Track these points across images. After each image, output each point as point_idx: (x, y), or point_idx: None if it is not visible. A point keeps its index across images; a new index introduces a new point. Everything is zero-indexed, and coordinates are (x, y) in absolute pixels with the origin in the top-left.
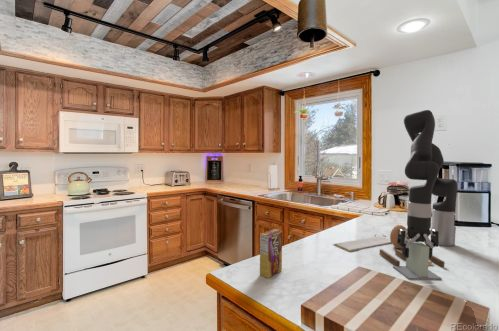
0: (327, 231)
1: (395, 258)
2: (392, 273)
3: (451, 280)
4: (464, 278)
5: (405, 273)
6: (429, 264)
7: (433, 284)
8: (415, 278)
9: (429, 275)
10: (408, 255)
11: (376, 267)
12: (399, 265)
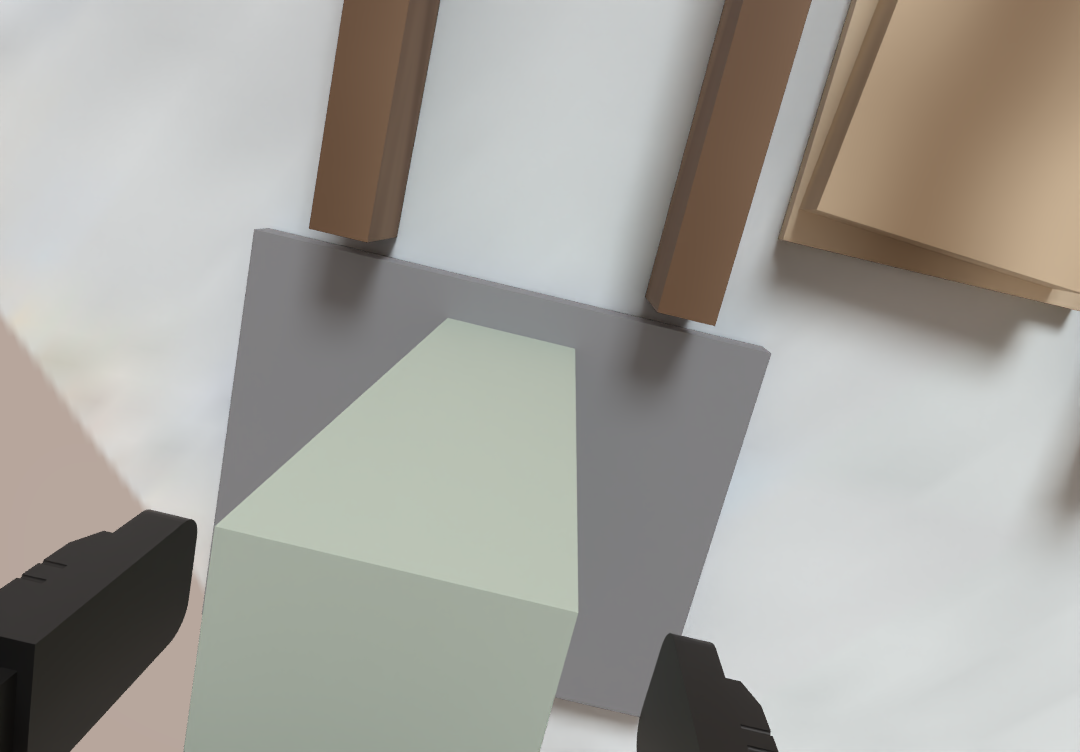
0: None
1: (388, 96)
2: (131, 388)
3: (783, 727)
4: (1027, 729)
5: None
6: (1011, 282)
7: None
8: None
9: None
10: (146, 660)
11: (7, 146)
12: (387, 237)
